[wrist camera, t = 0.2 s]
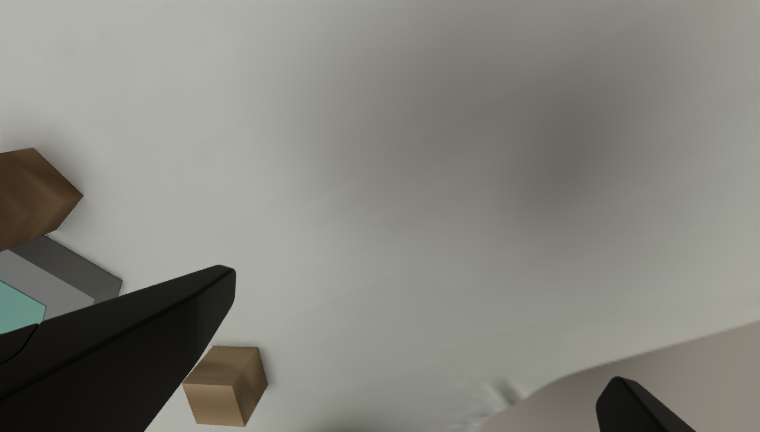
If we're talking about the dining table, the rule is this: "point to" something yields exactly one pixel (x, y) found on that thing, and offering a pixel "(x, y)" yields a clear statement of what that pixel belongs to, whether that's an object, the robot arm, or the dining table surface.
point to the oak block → (226, 386)
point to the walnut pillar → (31, 197)
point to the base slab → (48, 283)
